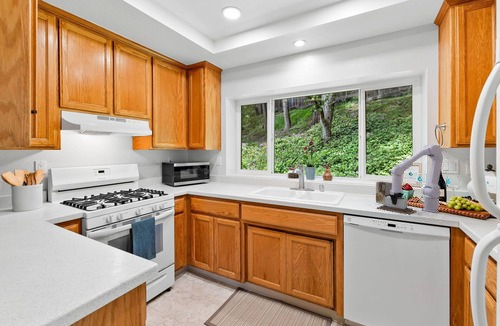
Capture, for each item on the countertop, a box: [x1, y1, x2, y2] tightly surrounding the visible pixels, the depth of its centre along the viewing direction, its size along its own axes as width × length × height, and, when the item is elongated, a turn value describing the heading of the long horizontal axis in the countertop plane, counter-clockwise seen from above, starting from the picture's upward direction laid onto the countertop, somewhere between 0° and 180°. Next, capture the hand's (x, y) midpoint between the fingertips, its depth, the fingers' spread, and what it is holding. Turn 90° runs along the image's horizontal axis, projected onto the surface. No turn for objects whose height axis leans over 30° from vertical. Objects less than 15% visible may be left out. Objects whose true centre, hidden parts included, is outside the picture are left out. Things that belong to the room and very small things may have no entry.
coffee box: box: [375, 181, 392, 205], centre depth 185 cm, size 9×6×16 cm
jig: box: [376, 204, 417, 215], centre depth 164 cm, size 13×20×2 cm, turn 37°
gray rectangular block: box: [384, 196, 409, 209], centre depth 164 cm, size 5×12×7 cm, turn 37°
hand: (396, 203), depth 164 cm, fingers closed on gray rectangular block, 5 cm apart
